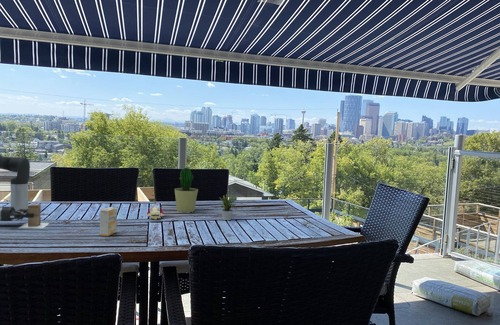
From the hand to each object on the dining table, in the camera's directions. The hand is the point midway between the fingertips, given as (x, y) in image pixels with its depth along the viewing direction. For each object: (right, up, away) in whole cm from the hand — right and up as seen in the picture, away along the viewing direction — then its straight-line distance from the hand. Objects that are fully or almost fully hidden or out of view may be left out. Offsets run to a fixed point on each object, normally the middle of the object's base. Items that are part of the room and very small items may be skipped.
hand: (36, 213), depth 205 cm
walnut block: (-1, -6, 0) cm, 6 cm away
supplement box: (+41, -9, -9) cm, 43 cm away
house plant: (+99, -9, +32) cm, 105 cm away
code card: (-1, -6, 0) cm, 7 cm away
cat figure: (+54, -7, +36) cm, 65 cm away
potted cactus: (+70, -6, +53) cm, 88 cm away
